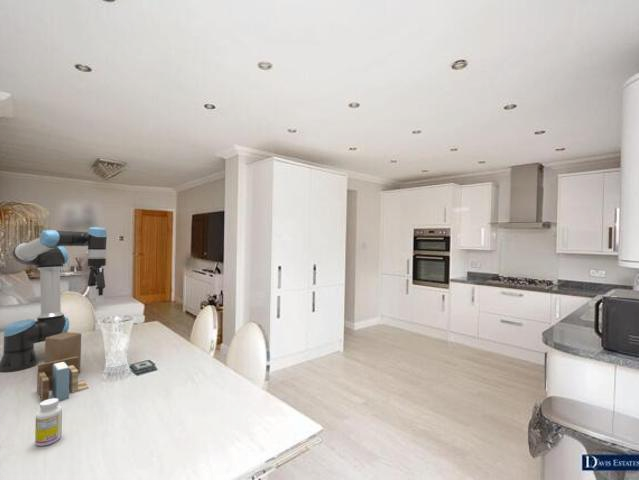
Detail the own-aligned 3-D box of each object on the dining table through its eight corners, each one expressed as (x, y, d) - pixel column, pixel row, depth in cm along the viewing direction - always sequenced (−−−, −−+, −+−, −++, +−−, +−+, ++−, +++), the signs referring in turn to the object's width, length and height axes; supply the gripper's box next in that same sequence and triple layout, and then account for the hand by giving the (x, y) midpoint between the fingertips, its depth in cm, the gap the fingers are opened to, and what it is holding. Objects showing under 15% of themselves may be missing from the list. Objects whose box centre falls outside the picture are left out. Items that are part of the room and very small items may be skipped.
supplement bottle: (45, 434, 107) (46, 396, 107) (66, 434, 107) (67, 396, 107) (29, 447, 100) (30, 406, 100) (51, 446, 100) (52, 406, 101)
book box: (51, 394, 135) (52, 363, 136) (63, 391, 138) (64, 361, 139) (56, 402, 129) (57, 370, 129) (68, 398, 132) (69, 367, 132)
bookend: (66, 386, 143) (67, 366, 143) (83, 381, 148) (83, 362, 148) (72, 392, 137) (72, 372, 137) (88, 388, 141) (89, 368, 141)
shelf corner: (37, 392, 137) (37, 364, 137) (76, 381, 147) (77, 356, 148) (42, 403, 127) (43, 374, 127) (84, 391, 138) (85, 364, 138)
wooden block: (60, 381, 148) (61, 338, 148) (43, 379, 150) (44, 337, 150) (80, 373, 158) (81, 333, 158) (64, 371, 160) (65, 331, 160)
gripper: (81, 257, 163) (80, 298, 163) (94, 259, 147) (93, 304, 146) (98, 257, 169) (97, 296, 168) (113, 258, 152) (112, 302, 152)
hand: (95, 300), depth 157 cm, fingers open, 13 cm apart
